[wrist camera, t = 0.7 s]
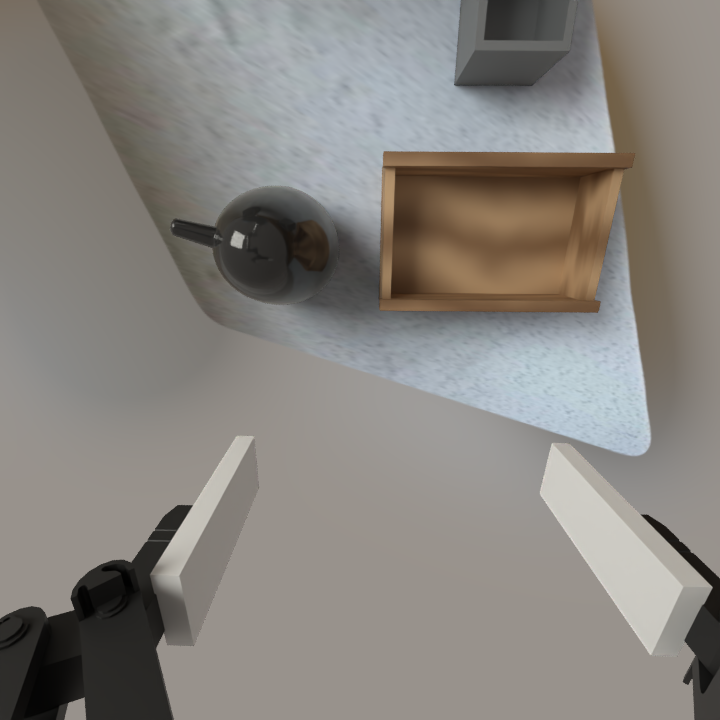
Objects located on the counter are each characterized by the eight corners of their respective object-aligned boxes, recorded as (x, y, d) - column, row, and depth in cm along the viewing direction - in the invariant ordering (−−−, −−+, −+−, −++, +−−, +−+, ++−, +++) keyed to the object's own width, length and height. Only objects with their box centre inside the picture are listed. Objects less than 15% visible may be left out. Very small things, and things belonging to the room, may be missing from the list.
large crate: (380, 167, 33) (383, 151, 28) (588, 168, 33) (635, 153, 28) (377, 299, 38) (379, 310, 32) (561, 301, 37) (598, 312, 32)
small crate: (463, -32, 29) (488, -99, 23) (548, -31, 29) (594, -99, 23) (454, 84, 31) (474, 50, 26) (532, 85, 31) (569, 50, 26)
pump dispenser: (251, 177, 34) (169, 131, 19) (353, 211, 35) (347, 191, 20) (233, 279, 37) (150, 304, 23) (326, 308, 38) (305, 349, 24)
